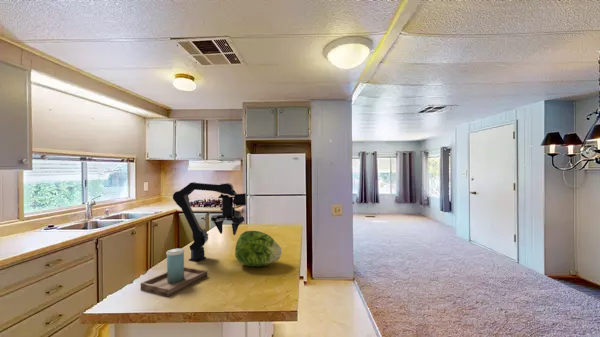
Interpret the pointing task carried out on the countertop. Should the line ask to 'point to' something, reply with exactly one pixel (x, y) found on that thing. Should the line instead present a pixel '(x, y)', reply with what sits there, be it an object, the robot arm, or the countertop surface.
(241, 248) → the lettuce
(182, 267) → the cup
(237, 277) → the countertop surface
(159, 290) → the tray
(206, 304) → the countertop surface
